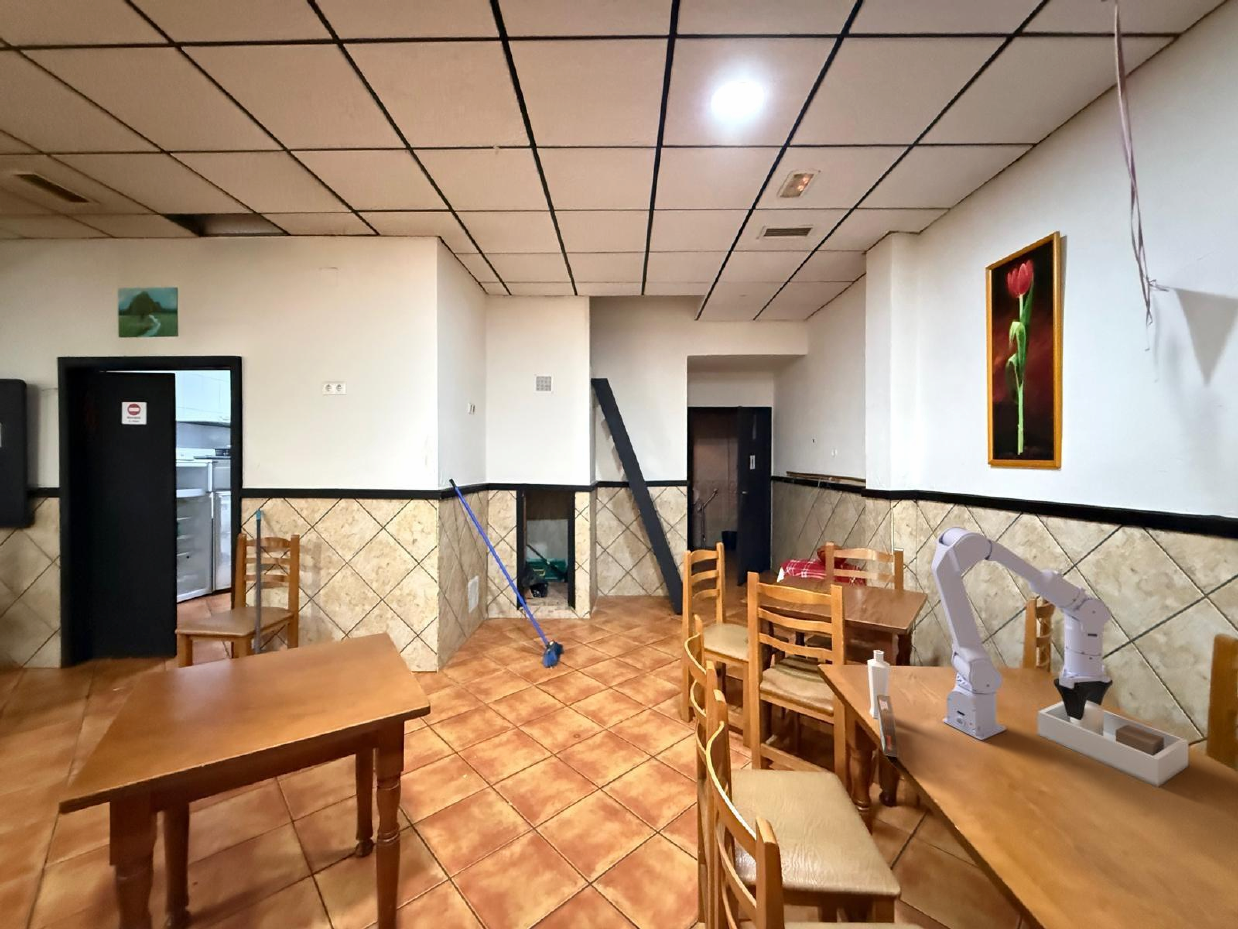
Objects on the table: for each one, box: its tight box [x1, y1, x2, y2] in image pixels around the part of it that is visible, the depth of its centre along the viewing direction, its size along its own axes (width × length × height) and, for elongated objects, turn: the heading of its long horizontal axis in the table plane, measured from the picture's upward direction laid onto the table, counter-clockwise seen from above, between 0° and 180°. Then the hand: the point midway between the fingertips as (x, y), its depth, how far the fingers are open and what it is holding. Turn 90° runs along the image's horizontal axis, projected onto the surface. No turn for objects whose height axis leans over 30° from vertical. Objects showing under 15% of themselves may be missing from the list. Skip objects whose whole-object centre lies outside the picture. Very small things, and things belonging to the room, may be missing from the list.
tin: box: [877, 695, 900, 759], centre depth 97 cm, size 15×3×8 cm, turn 155°
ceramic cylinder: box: [1070, 701, 1105, 736], centre depth 98 cm, size 5×5×7 cm
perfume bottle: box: [867, 649, 891, 720], centre depth 108 cm, size 5×4×15 cm
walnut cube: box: [1116, 724, 1164, 756], centre depth 91 cm, size 5×5×5 cm
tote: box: [1037, 700, 1189, 788], centre depth 95 cm, size 14×18×5 cm
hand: (1083, 713), depth 98 cm, fingers open, 7 cm apart
